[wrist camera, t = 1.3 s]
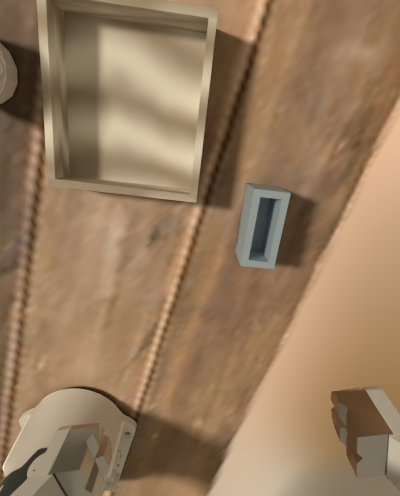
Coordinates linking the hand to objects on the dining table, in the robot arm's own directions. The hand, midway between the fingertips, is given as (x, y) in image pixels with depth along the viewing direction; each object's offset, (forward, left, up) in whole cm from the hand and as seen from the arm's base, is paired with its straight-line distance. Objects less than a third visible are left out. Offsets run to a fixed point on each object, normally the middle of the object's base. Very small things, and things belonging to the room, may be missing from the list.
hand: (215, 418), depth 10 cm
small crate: (+1, -7, -28) cm, 29 cm away
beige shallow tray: (+12, +9, -28) cm, 32 cm away
